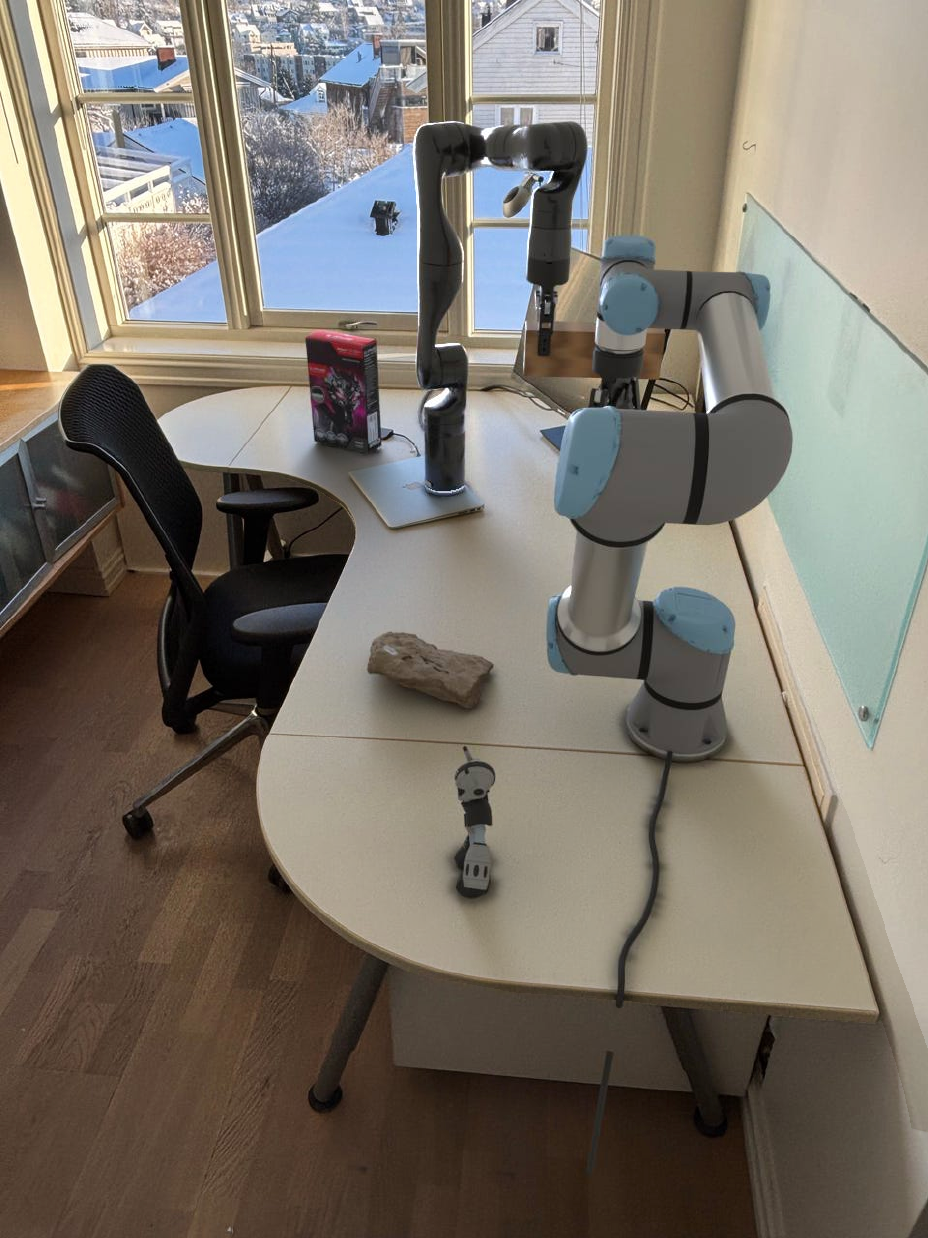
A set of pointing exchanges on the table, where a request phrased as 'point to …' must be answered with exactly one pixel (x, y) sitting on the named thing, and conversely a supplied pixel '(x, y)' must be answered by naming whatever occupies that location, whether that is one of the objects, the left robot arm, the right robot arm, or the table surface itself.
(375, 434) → the graphics card box
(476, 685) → the stone
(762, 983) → the table surface
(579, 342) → the box
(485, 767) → the robot
